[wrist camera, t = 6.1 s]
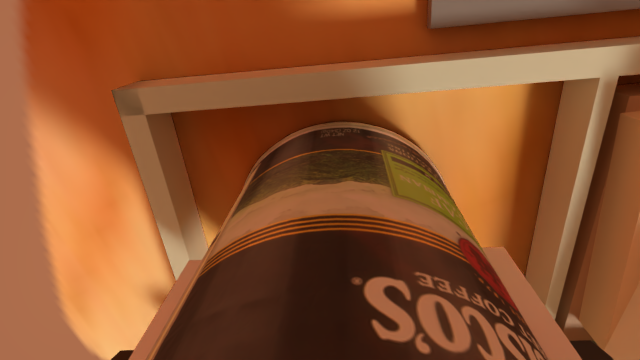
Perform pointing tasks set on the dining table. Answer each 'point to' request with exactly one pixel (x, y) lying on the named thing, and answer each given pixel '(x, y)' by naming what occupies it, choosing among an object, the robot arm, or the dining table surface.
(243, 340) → the coffee can
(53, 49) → the dining table surface
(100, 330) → the dining table surface
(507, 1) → the mat
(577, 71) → the rack
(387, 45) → the dining table surface
